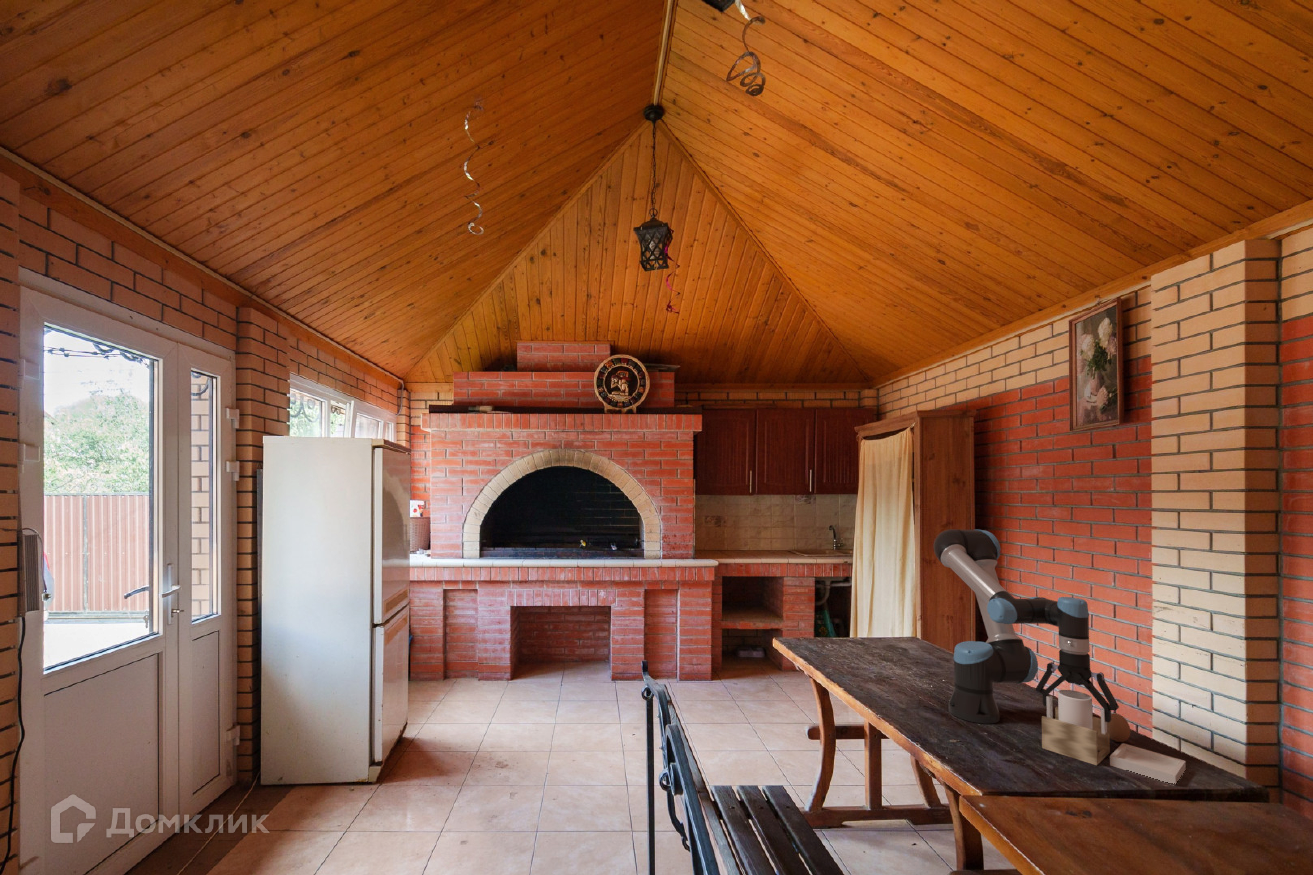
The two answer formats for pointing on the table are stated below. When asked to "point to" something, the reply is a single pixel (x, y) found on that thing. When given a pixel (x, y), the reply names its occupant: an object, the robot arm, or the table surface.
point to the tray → (1148, 763)
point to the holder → (1075, 739)
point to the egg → (1118, 728)
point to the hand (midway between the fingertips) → (1076, 725)
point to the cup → (1075, 708)
